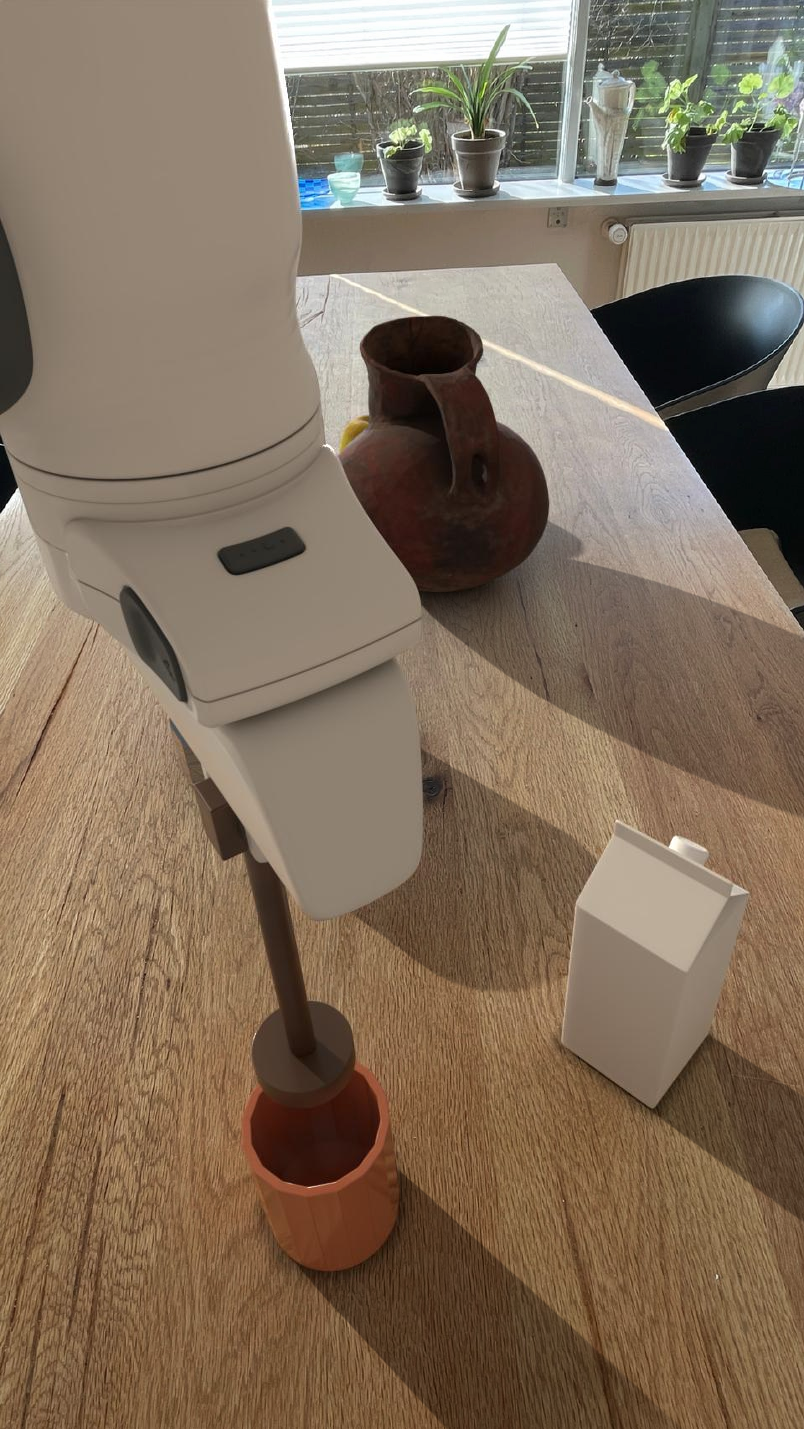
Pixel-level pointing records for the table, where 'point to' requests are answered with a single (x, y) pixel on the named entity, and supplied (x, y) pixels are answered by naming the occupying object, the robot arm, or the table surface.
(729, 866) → the table surface
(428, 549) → the jug
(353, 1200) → the crock
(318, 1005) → the brown wooden masher
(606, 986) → the milk carton
